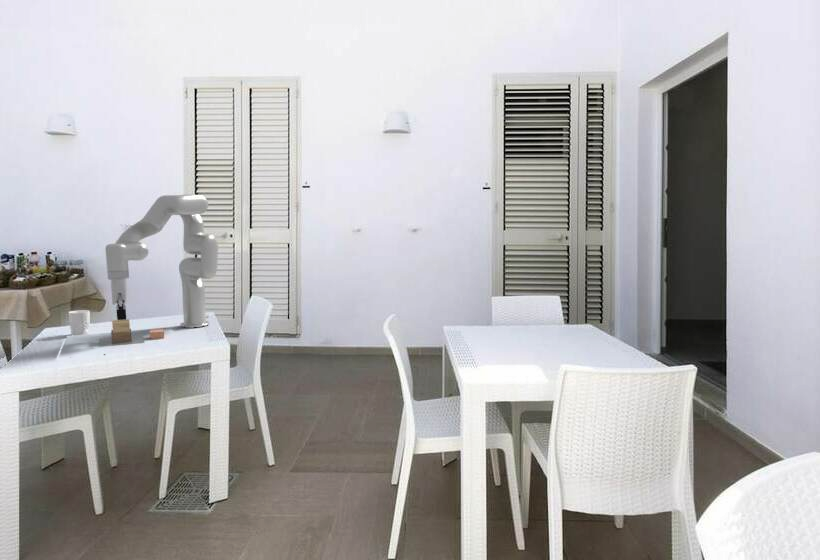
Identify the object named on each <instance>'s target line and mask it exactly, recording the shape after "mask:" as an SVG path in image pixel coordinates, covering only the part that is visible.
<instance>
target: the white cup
mask: <svg viewBox="0 0 820 560" xmlns="http://www.w3.org/2000/svg"><path fill="white" fill-rule="evenodd" d="M90 312H91V311H90V310H89V309H80V310H79V309H77V310H71V311H68V321H69V327H70V333H71V334H70V335H71V336H72V335H73V336H81V335H82V336H84V335H85V336H86V335H90V331H91V330H90V328H91V313H90Z"/></svg>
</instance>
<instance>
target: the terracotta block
mask: <svg viewBox="0 0 820 560" xmlns="http://www.w3.org/2000/svg"><path fill="white" fill-rule="evenodd" d="M149 338H150V340H158V339H159V340H160V339H162V340H163V339H165V332H164V329H163V328H161V329H151V330H149Z"/></svg>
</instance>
